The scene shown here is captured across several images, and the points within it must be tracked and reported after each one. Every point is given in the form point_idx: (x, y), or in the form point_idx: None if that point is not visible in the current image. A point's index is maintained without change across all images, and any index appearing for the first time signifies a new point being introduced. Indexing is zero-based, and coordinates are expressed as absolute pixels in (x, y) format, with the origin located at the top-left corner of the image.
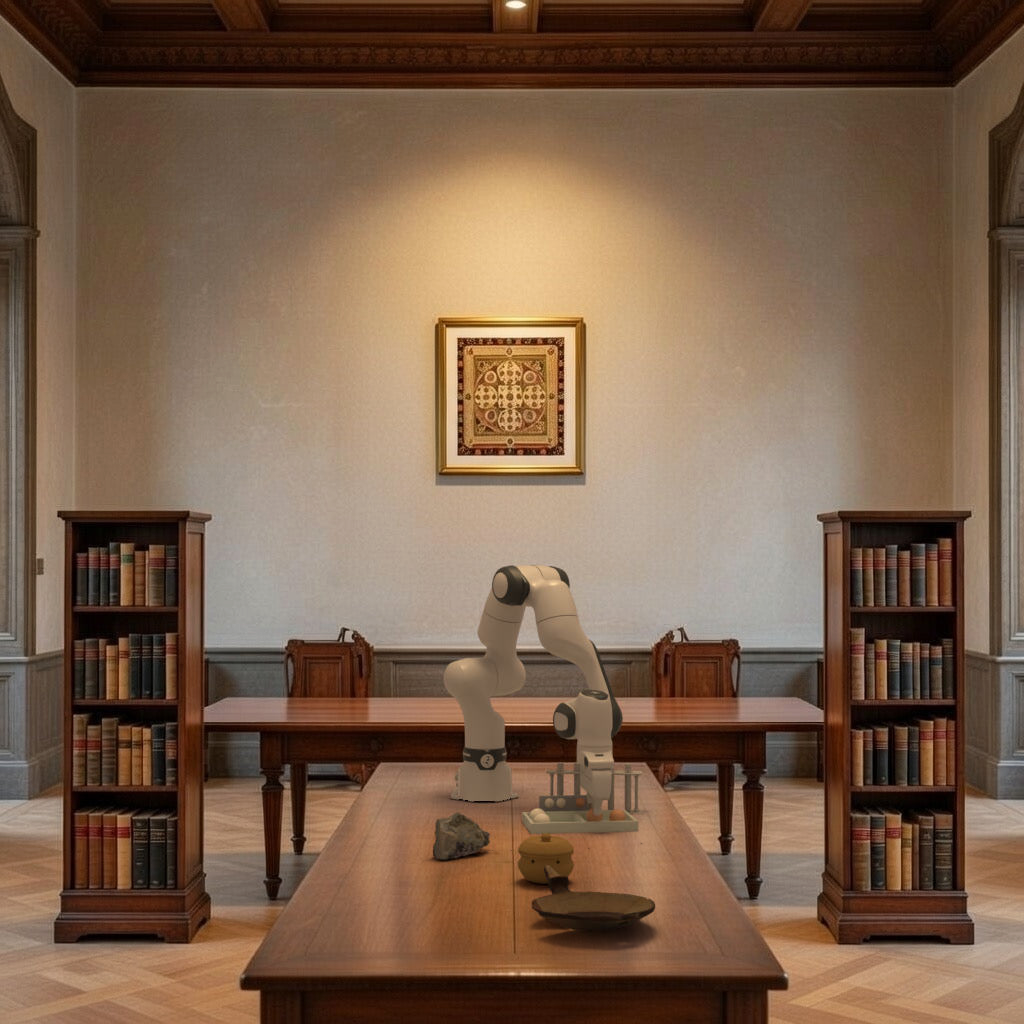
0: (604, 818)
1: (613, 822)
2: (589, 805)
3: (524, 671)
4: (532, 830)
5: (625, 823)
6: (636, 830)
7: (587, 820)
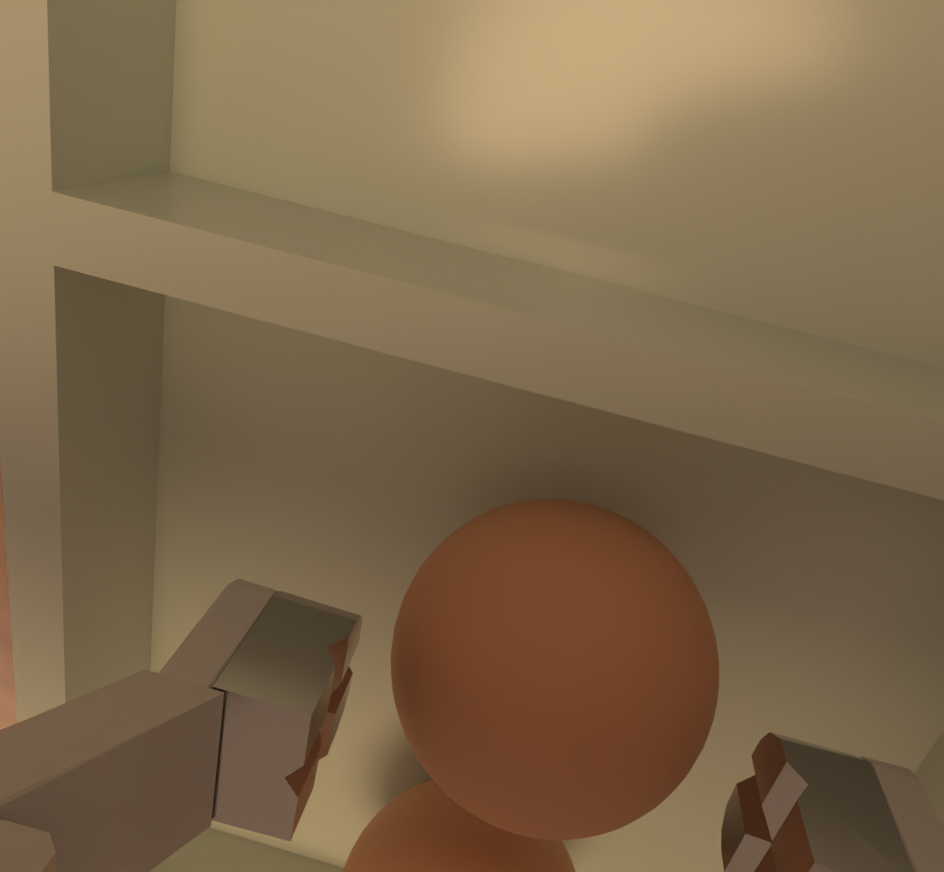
0: None
1: (25, 679)
2: (799, 828)
3: None
4: None
5: None
6: None
7: (590, 504)
